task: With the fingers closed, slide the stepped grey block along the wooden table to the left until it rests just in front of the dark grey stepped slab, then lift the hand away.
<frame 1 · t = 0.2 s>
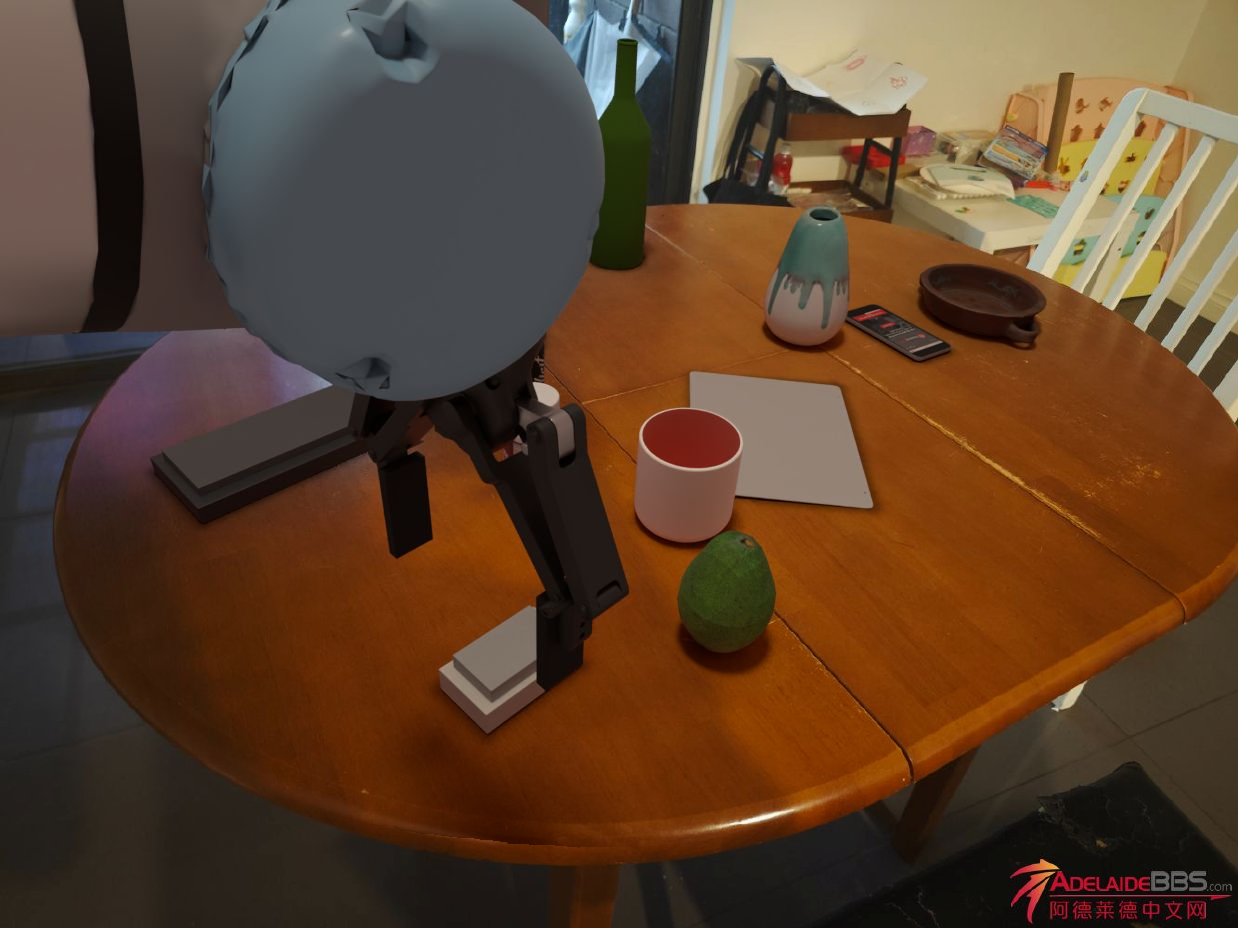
hand: (480, 605, 49), 20 cm above the table, tool pointing down, fingers open, 13 cm apart
fruit: (718, 638, 75), on the table
cup: (681, 515, 88), on the table
tankard: (450, 336, 116), on the table
dark grey stepped slab: (297, 447, 93), on the table
beverage can: (515, 425, 100), on the table
dish: (973, 317, 130), on the table
pill bottle: (533, 486, 91), on the table
smartphone: (894, 334, 123), on the table
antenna: (755, 435, 101), on the table
wine bottle: (615, 260, 139), on the table
vase: (799, 336, 122), on the table
stepped grey block: (512, 676, 70), on the table
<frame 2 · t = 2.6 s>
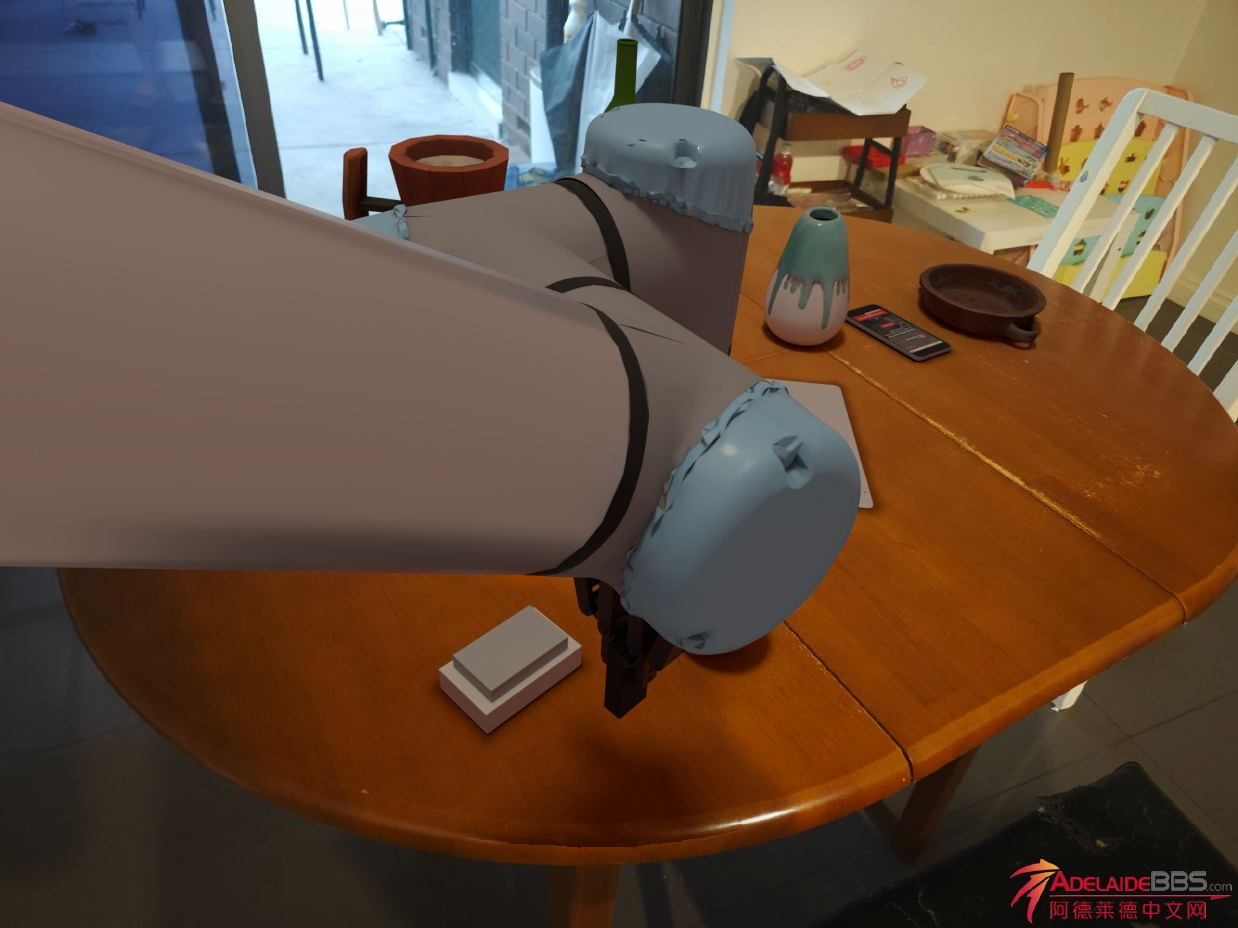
hand: (625, 701, 59), 8 cm above the table, tool pointing down, fingers closed
cup: (681, 515, 88), on the table, touching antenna
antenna: (755, 435, 101), on the table, touching cup
everything else where it was.
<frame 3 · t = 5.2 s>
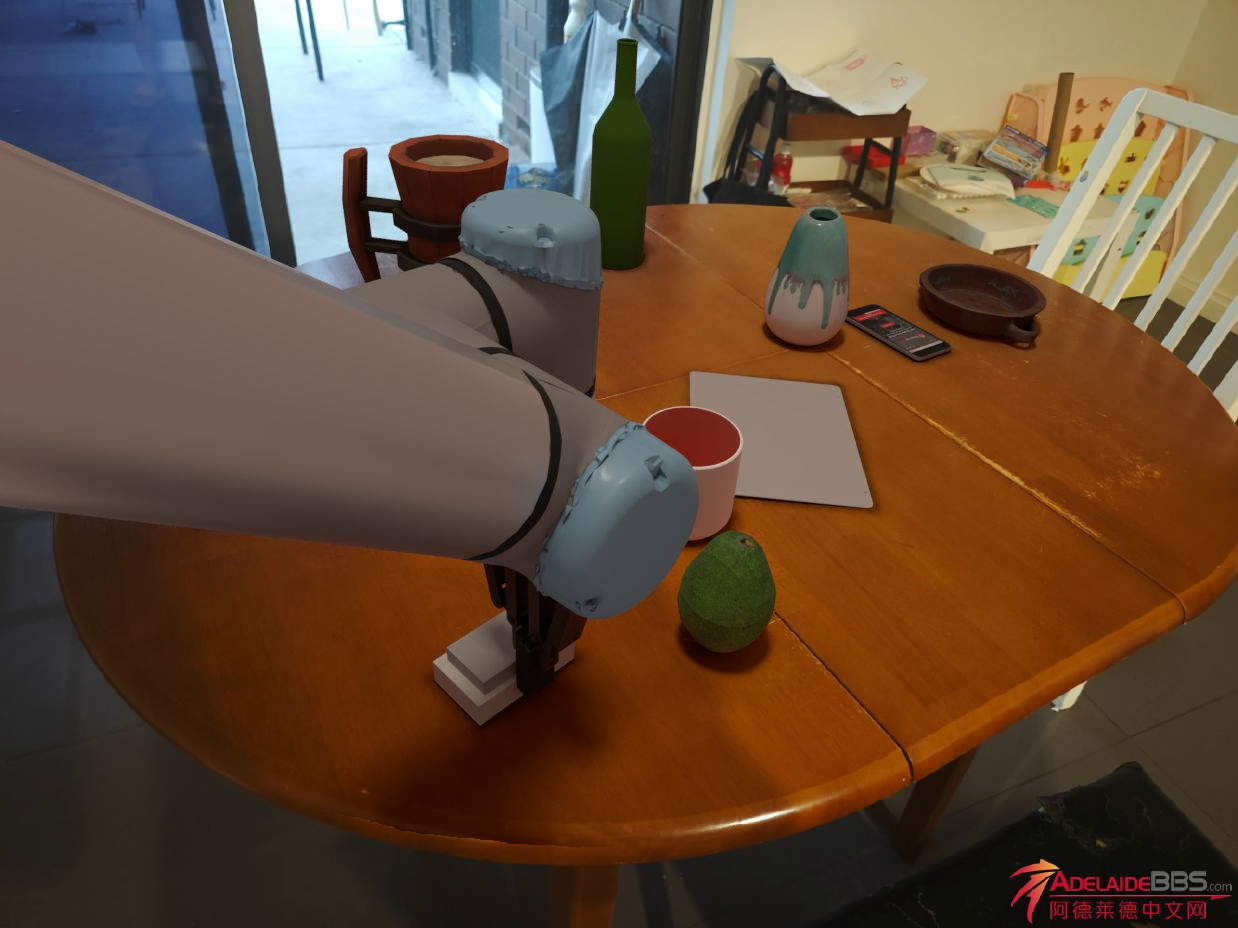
hand: (535, 683, 68), 2 cm above the table, tool pointing down, fingers closed
nothing on the table moved.
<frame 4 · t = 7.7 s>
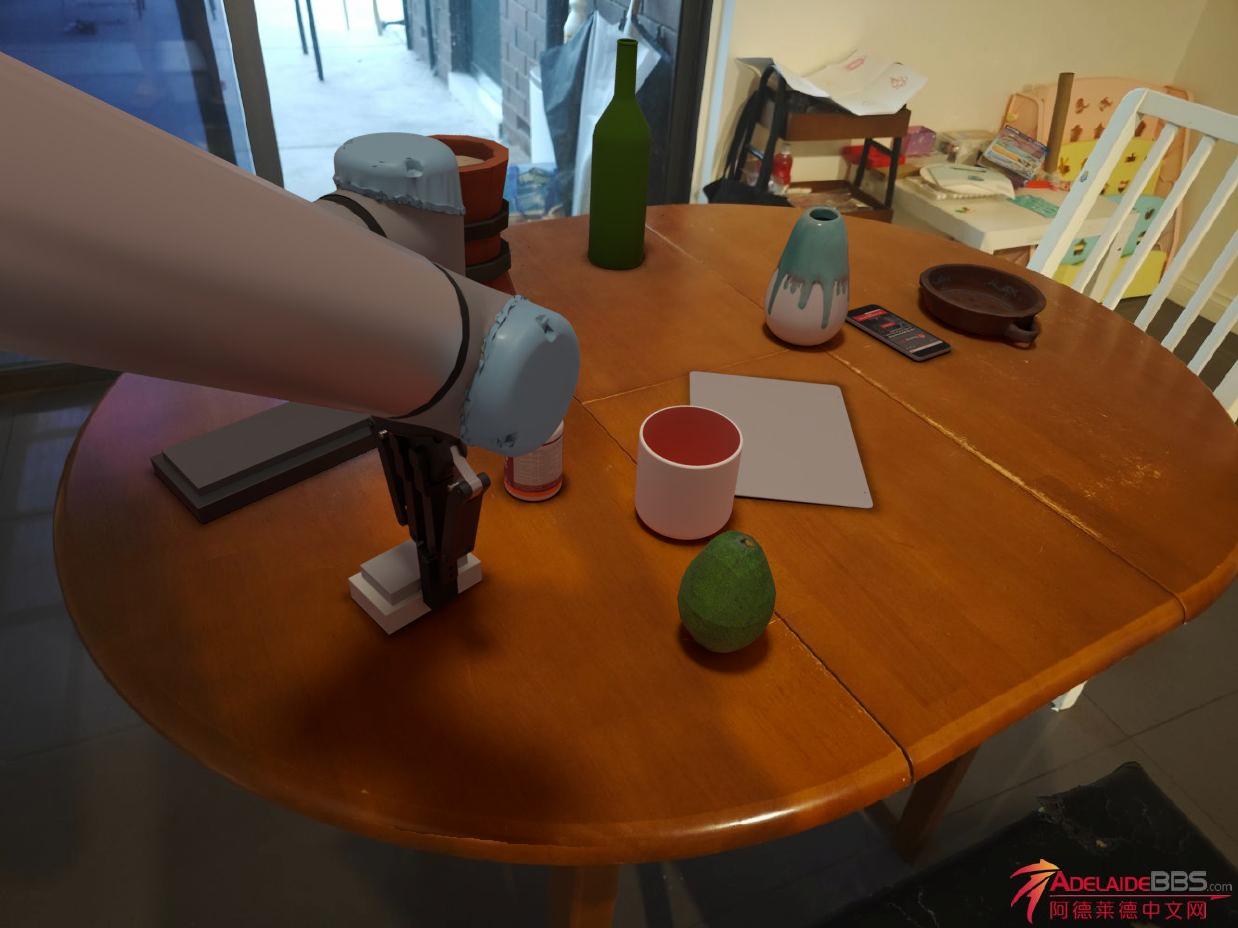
hand: (441, 598, 75), 2 cm above the table, tool pointing down, fingers closed
stepped grey block: (417, 588, 78), on the table, touching gripper
everything else where it was.
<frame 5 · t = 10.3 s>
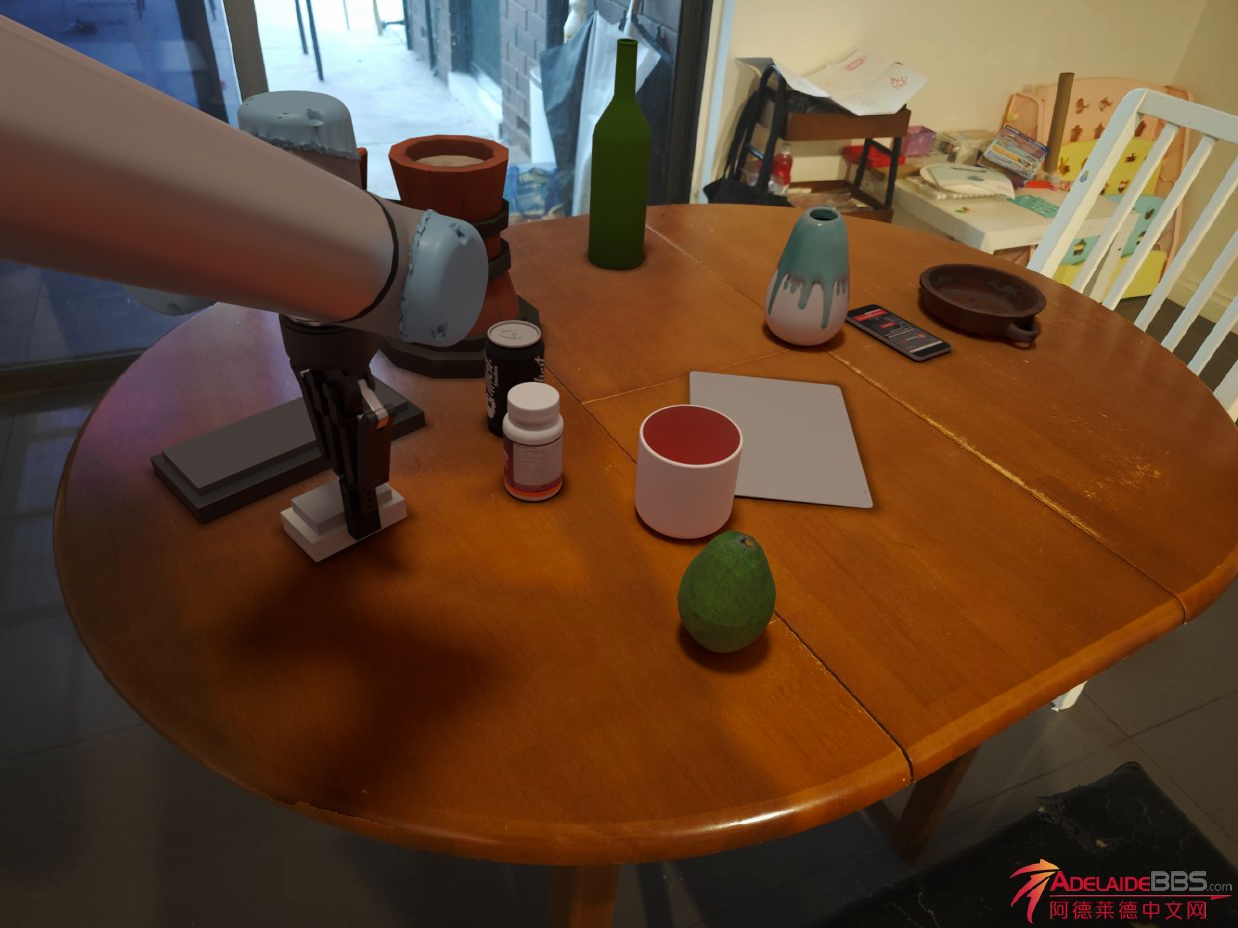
hand: (365, 530, 81), 2 cm above the table, tool pointing down, fingers closed
stepped grey block: (346, 523, 84), on the table, touching gripper
everything else where it was.
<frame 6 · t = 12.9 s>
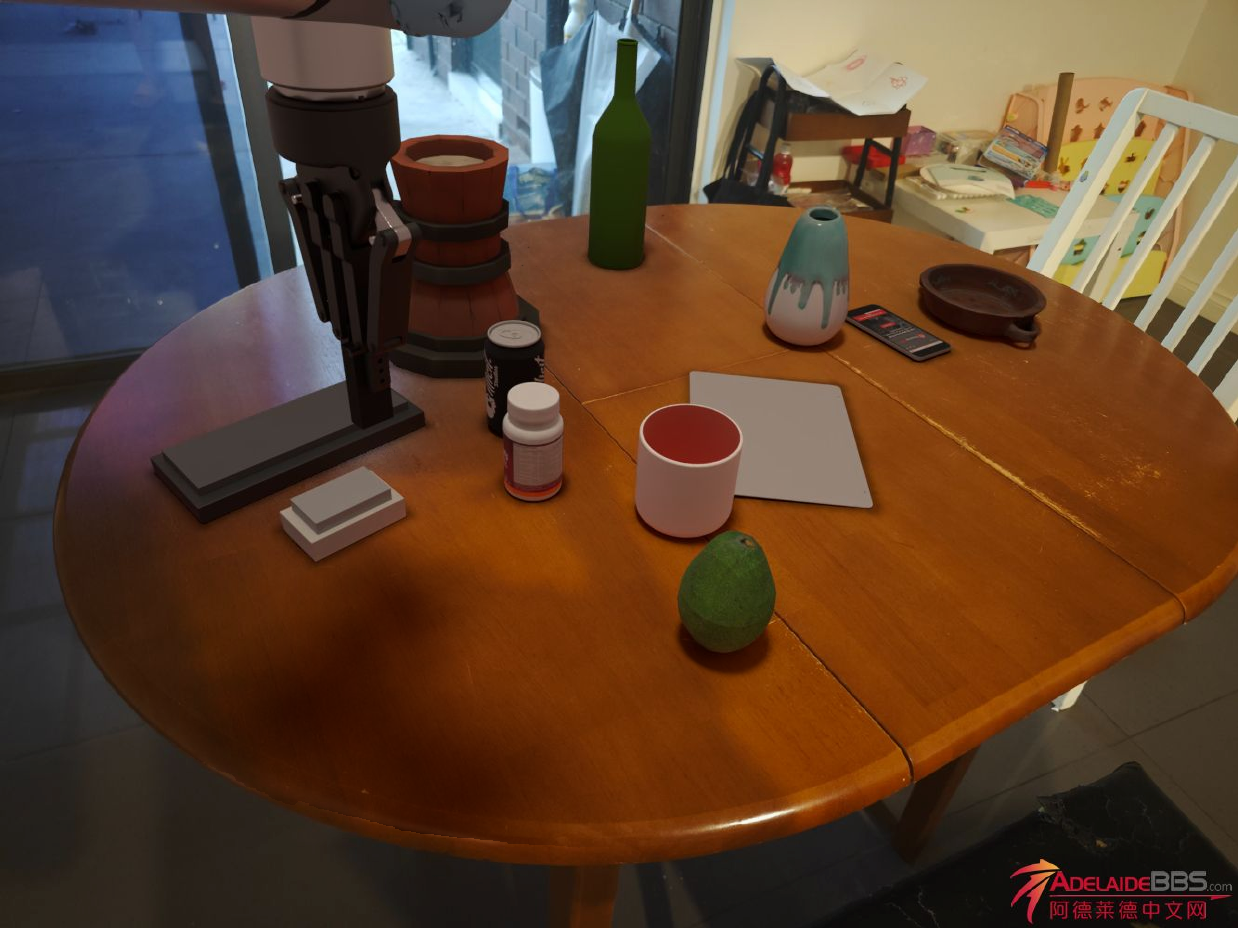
hand: (372, 419, 64), 20 cm above the table, tool pointing down, fingers closed
cup: (681, 511, 89), on the table
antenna: (755, 435, 101), on the table
stepped grey block: (346, 523, 84), on the table
everything else where it was.
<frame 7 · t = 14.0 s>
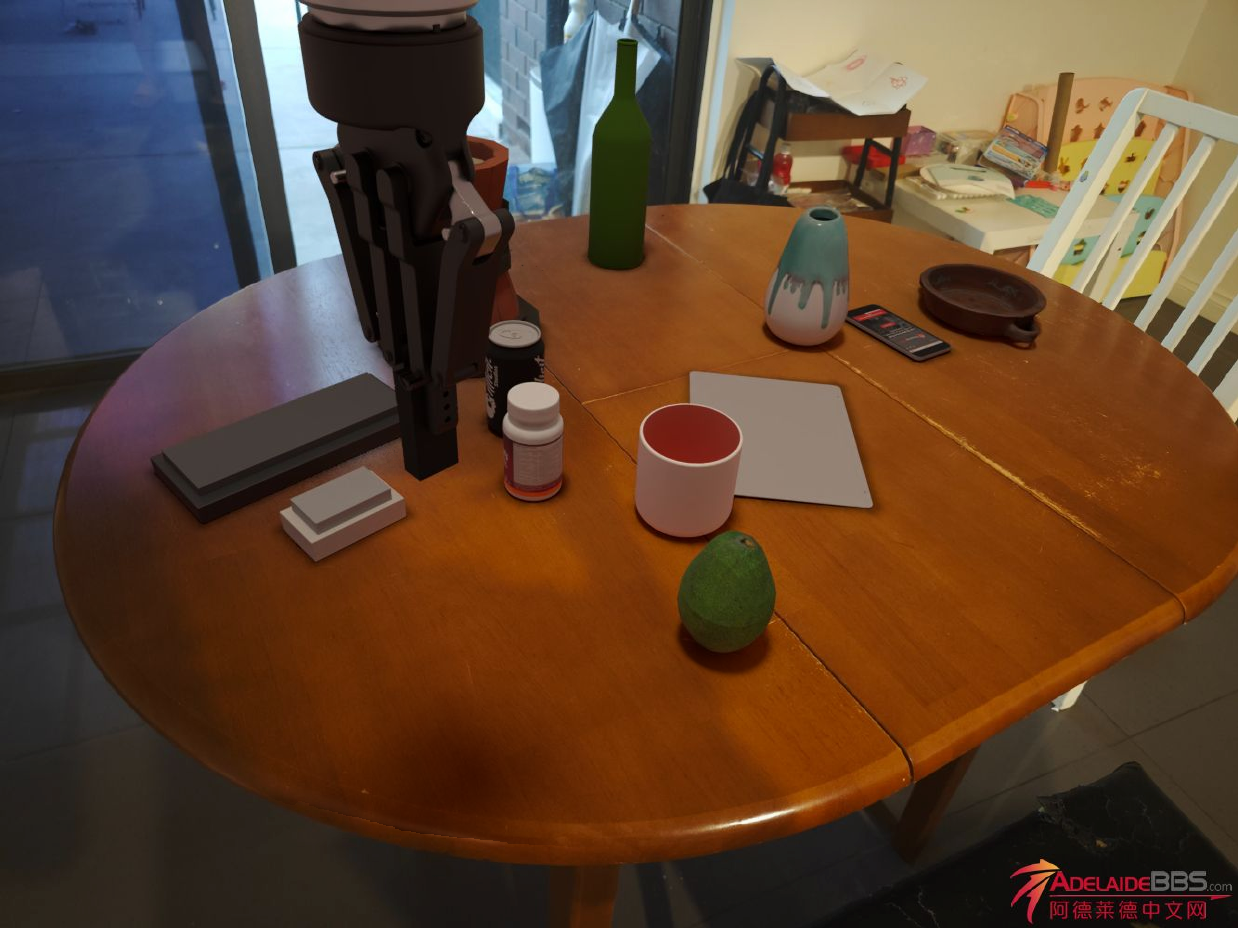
hand: (432, 465, 49), 26 cm above the table, tool pointing down, fingers closed
cup: (682, 510, 89), on the table, touching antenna
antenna: (755, 435, 101), on the table, touching cup
everything else where it was.
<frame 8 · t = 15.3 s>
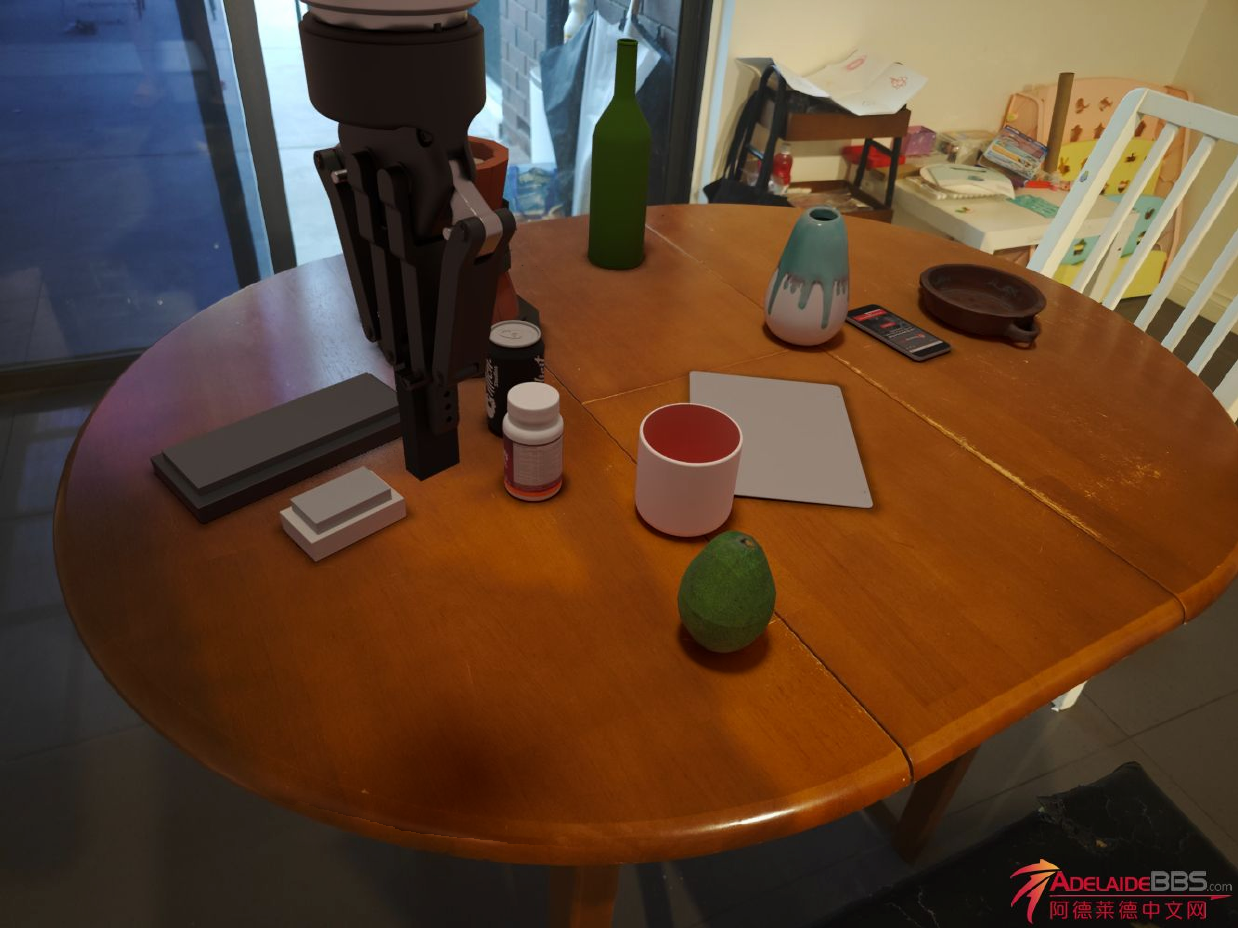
hand: (433, 465, 49), 26 cm above the table, tool pointing down, fingers closed
nothing on the table moved.
at the end: stepped grey block inside the target area on the table beside the dark grey stepped slab (0.5 cm from its centre), on the table; stepped grey block moved 25.6 cm from its start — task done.
